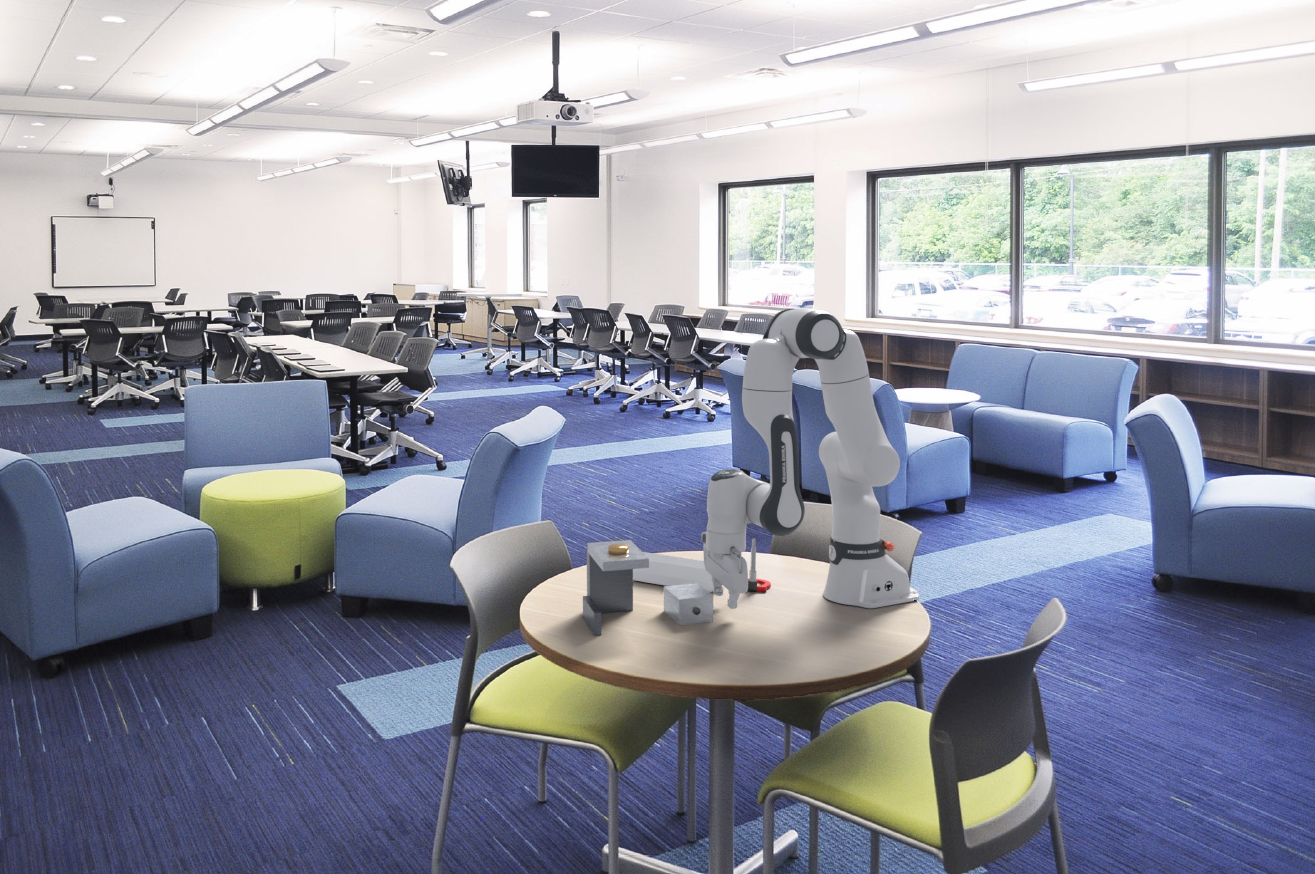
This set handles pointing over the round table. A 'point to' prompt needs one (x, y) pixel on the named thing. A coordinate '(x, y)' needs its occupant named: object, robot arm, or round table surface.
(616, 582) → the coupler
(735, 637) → the round table surface
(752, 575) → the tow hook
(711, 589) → the crystal
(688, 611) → the brushed aluminum block
